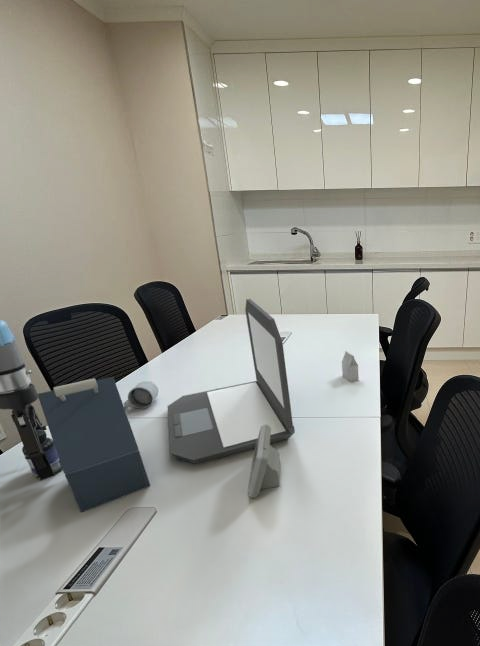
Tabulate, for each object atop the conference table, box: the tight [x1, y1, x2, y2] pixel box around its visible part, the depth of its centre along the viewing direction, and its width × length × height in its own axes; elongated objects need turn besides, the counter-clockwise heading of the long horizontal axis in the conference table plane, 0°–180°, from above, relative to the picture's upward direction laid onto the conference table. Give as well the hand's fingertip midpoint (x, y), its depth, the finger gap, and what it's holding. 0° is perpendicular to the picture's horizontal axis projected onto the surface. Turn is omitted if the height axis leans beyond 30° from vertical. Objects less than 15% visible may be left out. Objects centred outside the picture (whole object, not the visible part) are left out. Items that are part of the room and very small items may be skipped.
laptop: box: [167, 298, 296, 464], centre depth 113 cm, size 43×31×34 cm
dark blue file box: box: [64, 449, 151, 513], centre depth 92 cm, size 17×14×10 cm
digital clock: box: [247, 425, 282, 499], centre depth 92 cm, size 16×9×11 cm, turn 0°
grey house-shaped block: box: [341, 350, 360, 383], centre depth 147 cm, size 4×7×10 cm, turn 27°
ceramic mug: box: [123, 380, 159, 410], centre depth 131 cm, size 11×8×8 cm
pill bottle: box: [20, 430, 63, 479], centre depth 96 cm, size 6×6×11 cm
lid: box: [37, 376, 140, 475], centre depth 81 cm, size 18×14×9 cm
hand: (47, 465), depth 98 cm, fingers open, 12 cm apart
